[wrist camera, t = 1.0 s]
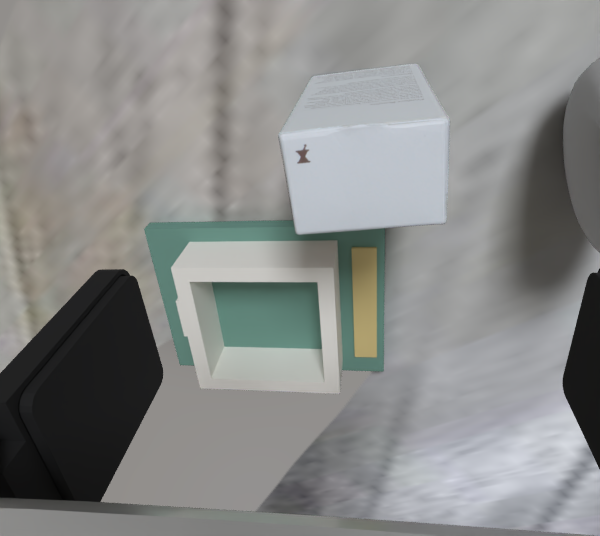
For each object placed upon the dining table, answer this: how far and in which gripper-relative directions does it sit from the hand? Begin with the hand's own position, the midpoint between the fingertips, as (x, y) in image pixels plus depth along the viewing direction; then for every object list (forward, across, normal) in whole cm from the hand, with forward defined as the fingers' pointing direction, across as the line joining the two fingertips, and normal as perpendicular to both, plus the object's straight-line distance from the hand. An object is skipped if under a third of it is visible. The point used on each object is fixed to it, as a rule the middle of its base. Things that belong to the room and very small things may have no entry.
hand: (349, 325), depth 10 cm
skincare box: (+21, 0, 0) cm, 21 cm away
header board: (+21, +7, +13) cm, 25 cm away
